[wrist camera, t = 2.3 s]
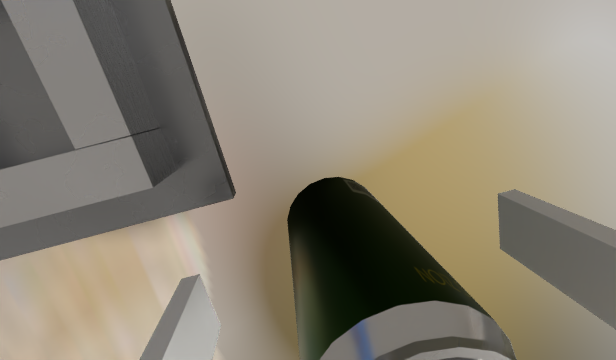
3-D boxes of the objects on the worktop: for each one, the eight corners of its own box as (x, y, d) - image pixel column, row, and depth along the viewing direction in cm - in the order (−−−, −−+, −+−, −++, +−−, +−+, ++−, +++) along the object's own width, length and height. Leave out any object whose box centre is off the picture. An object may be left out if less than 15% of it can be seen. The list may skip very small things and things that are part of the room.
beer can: (307, 159, 16) (380, 305, 5) (388, 192, 18) (600, 372, 6) (273, 240, 18) (268, 507, 6) (351, 265, 19) (469, 533, 7)
